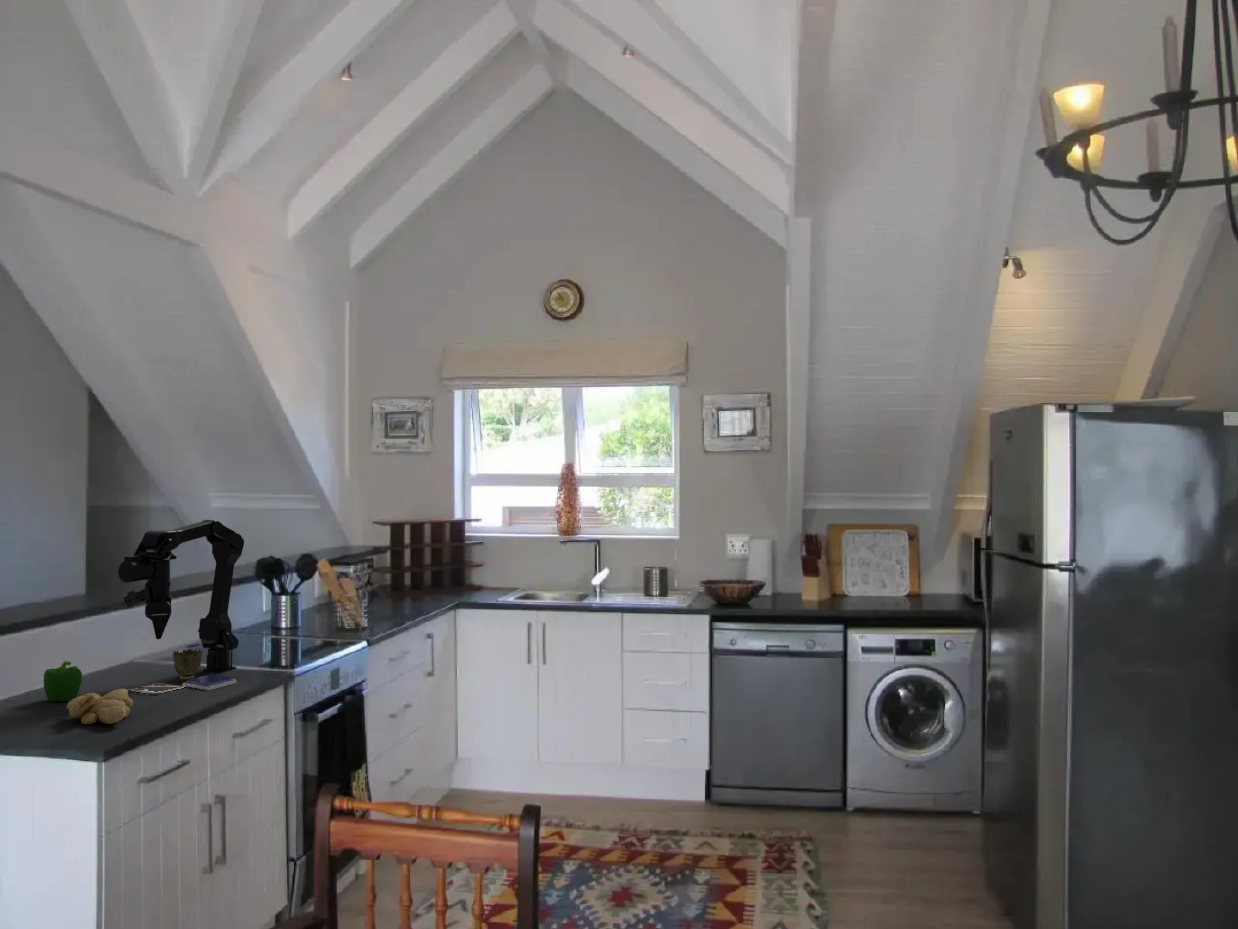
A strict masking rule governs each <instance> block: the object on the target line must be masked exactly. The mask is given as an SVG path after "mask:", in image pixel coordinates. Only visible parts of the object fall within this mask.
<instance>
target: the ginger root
mask: <svg viewBox="0 0 1238 929" xmlns="http://www.w3.org/2000/svg"><path fill="white" fill-rule="evenodd" d="M128 690H129V689H126V688H119V689H118V688H117V689H114V690H112V691H109V692H108V693H106V694H104V695H103V696H101V695H100V694H98V693H95V692H88V693H85V694H82V695H79V696H76V698H75V699H72V700H70V701H67V702H68V703H67V706H66V708H67V710H68V714H69V716H70V717H71V718H73V719H80V720H81V721H80V722H81V724H84V725H86V724H87V725H92V724H94V723H96V722H100V723H103V724H107V725H110V724H114V723H118V722H120V721H122V720H123V719H124V718H127V716H128V715H130V713H131V711H130V708H131V707H132V706H134V701H133V699H131V698H130V695H129V693H128V692H129V691H128Z"/></svg>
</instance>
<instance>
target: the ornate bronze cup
mask: <svg viewBox="0 0 1238 929" xmlns="http://www.w3.org/2000/svg"><path fill="white" fill-rule="evenodd" d="M203 652H204V651H203V650H201V649H198V650H197V649H196V648H195V649H194V650H193V649H191V648H188V649H187V650H186V649H183V650H182V652H179V650H174V651H173V652H172V656H173V664H174V665H173V666H174V670H175V673H176V674H178V676H179V675H180V677H179V678H180V681H182V682H186V680H190V679H194V678H196V676H195V674H197V673H198V672H199V670H200V669H201V664H202V660H203V659H202V658H203Z"/></svg>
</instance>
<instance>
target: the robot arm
mask: <svg viewBox="0 0 1238 929" xmlns="http://www.w3.org/2000/svg"><path fill="white" fill-rule="evenodd" d="M204 537H205V540H206V542H208V543H209V544H210V545H211V555H212V556H213V559H214V561H215V566H214V567H215V568H214V575H213V582H212V589H211V594H210V595H211V596H210V604H209V610H208V613H207V615H206V616H205V617H204V618H203V617H201V618H199V627H198V629H197V633H198V638H199V640H200V641H201V644H202V645H201V646H202V648H203V649H207V654H206V667H204V668H203V671H208V672H215V673H221V672H225V671H230V670H234V669H237V666H236V665H235V666H234V665H233V650H235V649H237V648H238V646H239V643H240V640H239V639H238V638H237V636H235V634H234V633H233V632H232V629H233V628H232V626H233V625H232V621H231V619H230V616H229V607H230V606H229V604H230V597H231V593H232V584H233V579H234V578H233V575H234V571H235V570H234V569H235V564H236V563H237V561H238V560H239V559H240V558H241V556H242V554H243V549H244V546H245V540H244V537H243V536H242V535H241V534H240V533H238V532H236V531H235V530H232V529H231V528H229V527H227V526H225V525H223V523H222V522H221V521H219V520H217V519H204V520H202V521H199V522H195V523H193V524H192V523H191V524H189V525H184V526H181V527H177V528H173V529H159V530H158V529H156V530H155V529H154V530H147V531H146V532H145V533H144V535H143V537H142V539H141V540H140V543H139V544H138V546H137V548H136V549H135V551H134V552H133V555H126V556H125V555H124V557H123V560H124V561H121V563H120V565H119V567H118V569H117V574H118V577H119V579H120V581H122V582H123V583H126V584H129V583H134V582H139V581H146V582H145V584H144V586H143V587H140V588H138V589H135V590H134V589H132V590H130V591H127V592H126V593H125V594H123V595H122V599H123V602H124V605H125V606H126V608H128V609H129V608H132V607H133V606H135V605H137V604H140V603H143V602H144V603H145V605H144V615H145V617H146V618H147V619H149V620H150V621H151V623H152V627H153V630H154V635H155V639H156V640H161V639H162V636H163V634H164V632H165V630H166V626H167V625H168V622H169V620H170V617H171V615H172V595H171V560H177V558H178V556H176V555H175V554H174V553H173V552H172V551H174V550H176V549H177V548H178V547H179V546H180V545H181V544H183V543H187V542H191V541H194V540H197V539H201V538H204Z"/></svg>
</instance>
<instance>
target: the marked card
mask: <svg viewBox="0 0 1238 929" xmlns="http://www.w3.org/2000/svg"><path fill="white" fill-rule="evenodd" d="M158 683H159V684H165V685H166V686H160V685H159V686H154V685H155V683H151V684H152V685H151V684H148V685H144V686H143V685H142V687H177V688H173V689H168V690H164V691H158V692H154V691H148V689H144V690H135V689H138V687H135V689H134V688H131V691H136V692H141V693H140V694H142V693H163V694H165V693H164V692H167V691H171V692H173V691H172V690H176V689H180V690H182V689H181V688H184V686H183V685H176V684H172V683H171V684H169V683H163V682H156V684H158ZM184 689H185V688H184ZM176 691H177V690H176ZM136 692H135V693H136ZM167 693H168V692H167Z"/></svg>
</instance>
